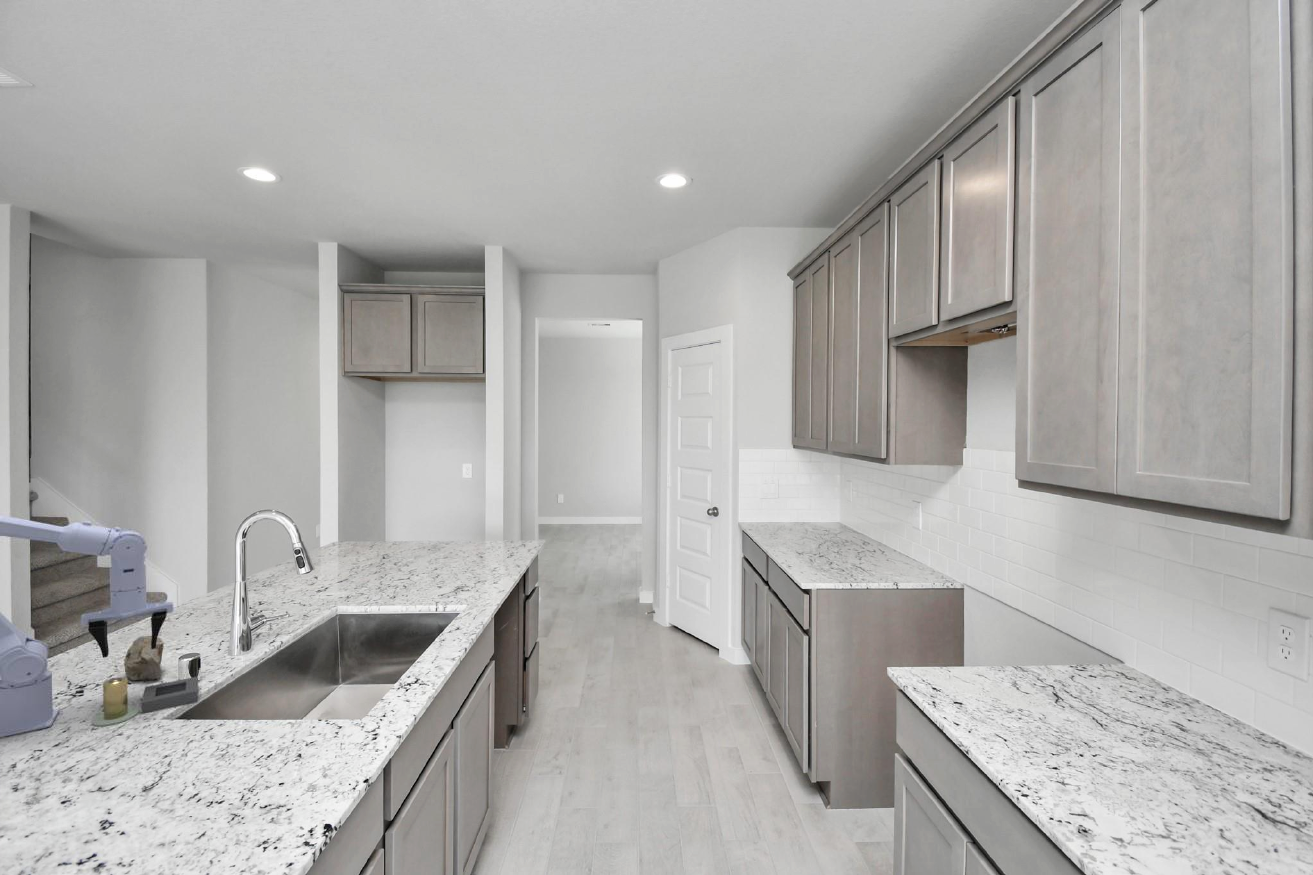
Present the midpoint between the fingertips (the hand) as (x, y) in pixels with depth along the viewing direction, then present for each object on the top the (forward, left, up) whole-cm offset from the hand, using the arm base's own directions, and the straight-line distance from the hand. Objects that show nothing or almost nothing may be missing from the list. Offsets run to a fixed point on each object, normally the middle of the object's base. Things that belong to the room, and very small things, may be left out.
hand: (130, 651), depth 127 cm
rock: (+1, +14, -11) cm, 18 cm away
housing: (+7, -5, -10) cm, 13 cm away
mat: (-2, -8, -10) cm, 13 cm away
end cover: (-2, -8, -10) cm, 13 cm away
